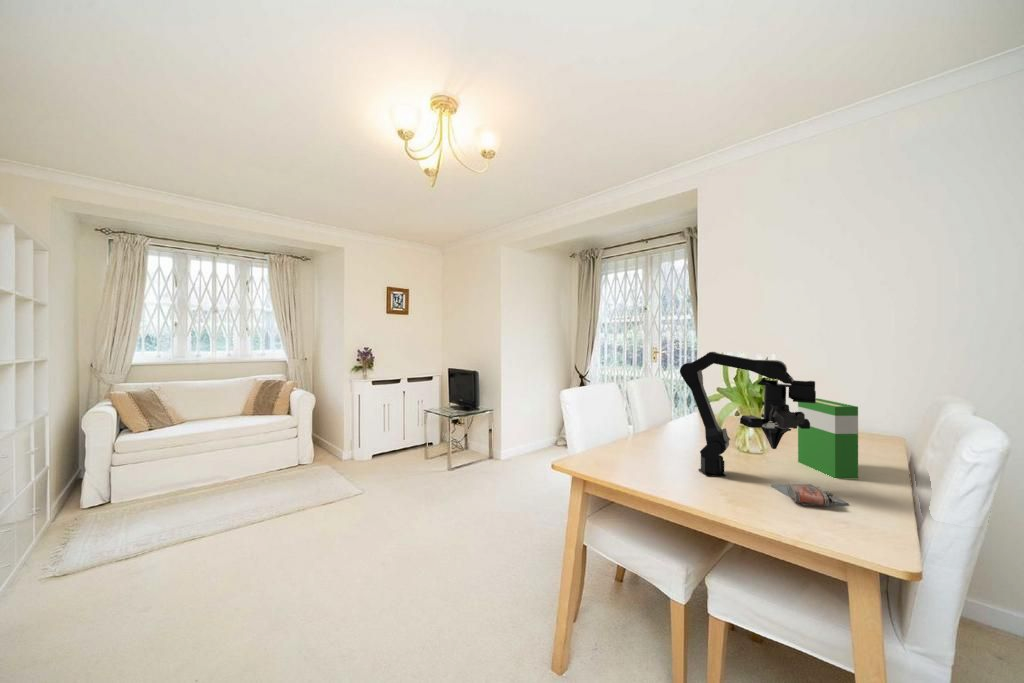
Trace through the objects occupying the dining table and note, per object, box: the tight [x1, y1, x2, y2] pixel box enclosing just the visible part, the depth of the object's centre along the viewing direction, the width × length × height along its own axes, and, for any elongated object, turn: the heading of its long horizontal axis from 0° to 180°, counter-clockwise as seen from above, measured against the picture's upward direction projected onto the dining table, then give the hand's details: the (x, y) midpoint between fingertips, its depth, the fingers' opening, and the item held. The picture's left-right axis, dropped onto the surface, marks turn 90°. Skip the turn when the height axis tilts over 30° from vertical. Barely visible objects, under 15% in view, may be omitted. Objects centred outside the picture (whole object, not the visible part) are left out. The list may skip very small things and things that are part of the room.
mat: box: [770, 483, 850, 506], centre depth 116 cm, size 12×14×1 cm
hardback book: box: [797, 397, 859, 479], centre depth 138 cm, size 18×7×24 cm, turn 178°
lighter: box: [787, 483, 838, 507], centre depth 110 cm, size 8×3×10 cm
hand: (773, 448), depth 124 cm, fingers closed
